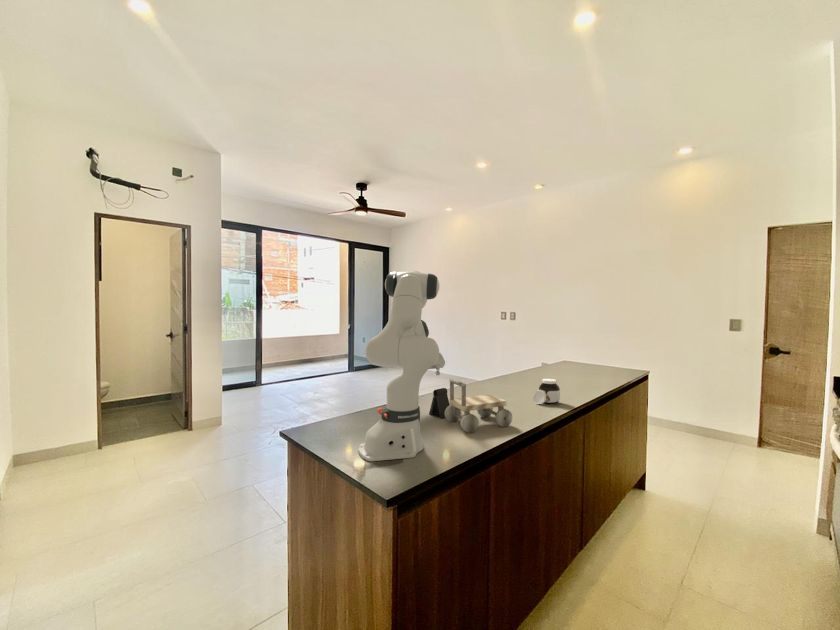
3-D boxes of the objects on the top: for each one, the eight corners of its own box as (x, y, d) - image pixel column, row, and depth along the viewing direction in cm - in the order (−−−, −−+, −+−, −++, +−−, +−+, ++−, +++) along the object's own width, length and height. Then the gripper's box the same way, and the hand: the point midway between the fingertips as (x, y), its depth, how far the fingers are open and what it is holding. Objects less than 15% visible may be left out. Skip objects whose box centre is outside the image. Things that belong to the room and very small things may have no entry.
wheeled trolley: (463, 434, 137) (462, 385, 137) (444, 421, 152) (444, 377, 152) (512, 425, 146) (512, 380, 146) (490, 415, 161) (490, 373, 160)
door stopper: (452, 416, 160) (452, 389, 159) (442, 419, 156) (442, 391, 156) (438, 411, 167) (438, 386, 166) (429, 414, 163) (428, 388, 162)
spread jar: (561, 402, 181) (561, 379, 181) (556, 407, 171) (556, 383, 171) (537, 399, 187) (537, 377, 187) (531, 404, 178) (531, 381, 177)
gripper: (403, 349, 175) (410, 373, 166) (441, 347, 182) (450, 369, 174) (400, 357, 179) (407, 381, 170) (437, 355, 187) (446, 377, 178)
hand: (429, 375), depth 172 cm, fingers open, 8 cm apart
